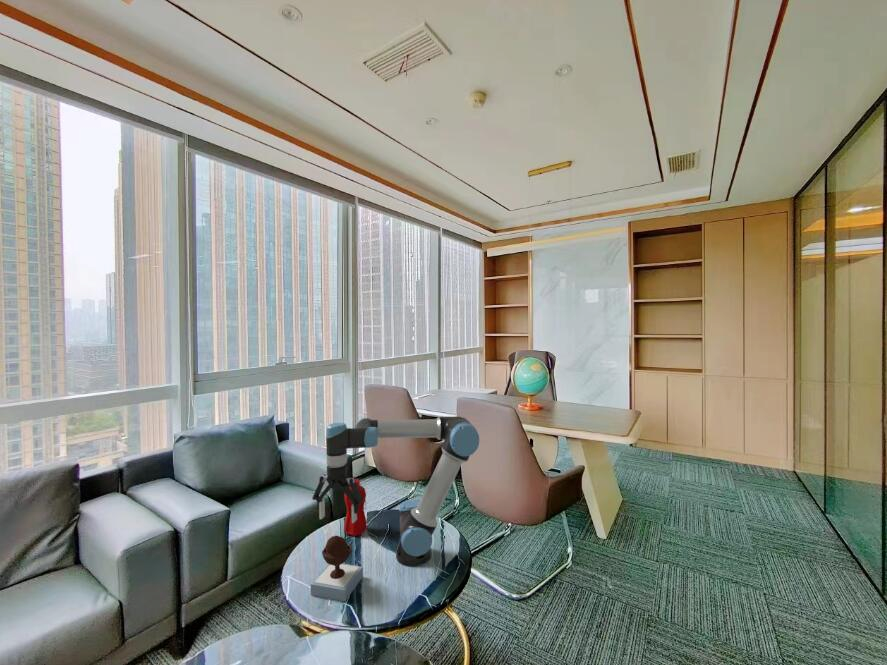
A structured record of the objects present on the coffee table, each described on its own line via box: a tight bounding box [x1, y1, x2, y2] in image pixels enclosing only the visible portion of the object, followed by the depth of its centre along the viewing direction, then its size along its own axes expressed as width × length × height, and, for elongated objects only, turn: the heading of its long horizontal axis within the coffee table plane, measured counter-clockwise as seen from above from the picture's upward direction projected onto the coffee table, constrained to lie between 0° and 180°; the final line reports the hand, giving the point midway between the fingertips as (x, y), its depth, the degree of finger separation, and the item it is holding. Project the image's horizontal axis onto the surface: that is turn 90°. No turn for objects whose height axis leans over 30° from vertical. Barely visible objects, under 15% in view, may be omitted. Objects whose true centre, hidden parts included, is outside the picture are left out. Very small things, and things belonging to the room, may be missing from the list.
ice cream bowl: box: [321, 535, 353, 579], centre depth 145 cm, size 11×11×15 cm
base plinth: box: [310, 563, 364, 602], centre depth 146 cm, size 14×14×4 cm
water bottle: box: [343, 478, 368, 537], centre depth 184 cm, size 9×11×25 cm
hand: (338, 519), depth 146 cm, fingers open, 13 cm apart
